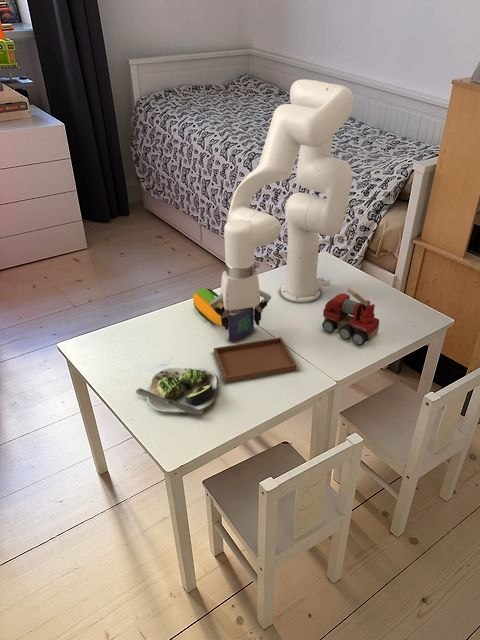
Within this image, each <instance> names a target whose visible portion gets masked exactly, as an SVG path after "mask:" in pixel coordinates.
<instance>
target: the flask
mask: <svg viewBox="0 0 480 640" xmlns="http://www.w3.org/2000/svg"><path fill="white" fill-rule="evenodd" d="M254 309H255V307H251V308H244V309H237V310H230V311H229V313H228V315H227V316H228V330H227V331H228V342H229V343H232V344H233V343H237V342H239V341H242V340H243V339H246V338H247V337H248V336H250V335H251V334H253V332H254V331H255V321H254Z"/></svg>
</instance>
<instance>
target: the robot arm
mask: <svg viewBox="0 0 480 640" xmlns="http://www.w3.org/2000/svg"><path fill="white" fill-rule="evenodd" d="M289 100H290V101H289V102H290V103H284V104H280V105H279V106H277V107H276V108H275V110H274V112H273V114H272V117H271V121H270V124H269V127H268V131H267V133H266V134H267V135H266V137H265V142H264V145H263V149H262V152H261V155H260V159H259V162H258V164H257V166H256V167H255V168H254V169H253V170H252V171H250V172H249V173H248V174H247V175H246V176H245V177H244V178H243V180H241V182H240V183H239V184H238V186H237V187H236V189H235V191H234V192H233V195H232V198H231V202H230V206H229V209H228V214H227V222H226V223H225V224H224V227H223V229H224V230H223V234H224V235H223V236H224V260H225V270H224V271H222V275H221V280H220V294H218V295H219V296H218V297H216V298H215V299H214V300H212V301H211V302H210V306H211V307H212V308H213V310H214V311H215V312H216V313H217V314H219V315H220V316H221V324H222V326H221V327H223V326H224V327H223V328H224V329H225V331H229V330H228V317H227V314H228V313H229V311H231V310H237V309H244V308H251V307H254V324H255V325H256V326H260V322H261V321H262V313H263V310H264V309H265V308H266V307H267V306H268V303H269V302H270V300H272V296H271V294H270V293H268V292H265V291H264V290H262V289H260V281H259V275H258V272H257V270H256V269H258V268H261V263H260V261H256V259H255V258H256V257H255V256H256V254H255V253H256V248H261V247H264V246H268V245H271V244H273V243H274V242H276V241H277V239H278V238H279V237H280V235H281V231H282V225H281V222H280V220H279V219H278V218H277V217H275V216H274V215H272V214H268V213H265V212H262V211H260V210H257V209H253V208H250V206H251V203H252V200H253V199H254V197H255V195H256V194H257V193H258V192H259V190H261V189H262V188H264V187H266V186H268V185H270V184H274V183H278V182H282V181H286V180H288V179H289V178H291V176H292V174H293V169H294V167H295V163H296V160H297V165H296V174H295V179H296V182H297V184H298V186H300V187H302V188H304V189H306V190H309V191H313V192H318V193H321V194H324V195H326V198H324V197H321V196H318V195H314V194H311V193H307V192H296V193H295V192H294V193H293V194H291V195H290V196H289V197H288V199H287V200H286V202H285V206H284V216H285V221H286V222H285V223H286V228H287V229H286V231H287V246H286V247H287V248H286V276H285V282H284V283H283V284H282V285H281V286H280V294H281V296H283V298H285V299H286V300H288V301H291V302H296V303H308V302H309V303H310V302H312V301H316V300H317V299H318V298H319V297H320V295H321V289H322V288H323V287H330V286H331V283H332V282H331V280H330V279H324V277H323V276H322V277H317V275H318V264H319V249H320V238H319V235H322V236H326V237H334V236H337V234H339V233H340V231H341V229H342V228H343V225H344V222H345V217H346V213H347V209H348V204H349V199H350V194H351V189H352V184H353V183H352V182H353V170H352V167H351V164H350V163H348V161H346V160H345V159H344V160H343V159H340V158H336V157H333V156H332V147H333V146H332V145H333V140H334V135H335V134H336V133H337V132H338V131H339V130H340V129H341V127H343V126H344V124H345V123H347V121H348V119H350V116H351V114H352V113H353V109H354V103H355V98H354V95H353V92H352V91H351V89H350V88H349V87H347V86H345V85H342V84H335V83H331V82H324V81H321V80H315V79H307V78H306V79H304V78H303V79H298V80H295V81H293V83H292V84H291V86H290V91H289ZM297 156H298V159H297ZM261 298H263V299H262V300H261ZM221 302H222V303H223V306H222V307H221V308H219V307H218V306H217V305H218V304H219V303H221Z"/></svg>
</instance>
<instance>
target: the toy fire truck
mask: <svg viewBox="0 0 480 640" xmlns="http://www.w3.org/2000/svg"><path fill="white" fill-rule="evenodd" d="M346 291H347V292H348V294H347V293H337V294H336V295H335V296H333V297H332V298H331V299H330V300H328V301H327V302H326V303H325V306H324V309H323V311H322V317H324V319H323V322H322V325H321V326H322V329H323V330H324V331H325V333H328V334H332V333H334V332H335V331H336V330H337V331H338V334H339V335H338V336H339V337H340V338H341V339H342V340H345V341H348V340H352V343H353V344H355V345H356V346H359V347H361V346H364V345H365V344H366V343H368V342H371V341H372V340H373V339H374V338H375V337H376V336H377V335H378V332H379V326H380V319H379V318H378V317H375V303H371V301H370V300H366V299H365V298H363V297H362V296H361V295H360V294H359V293H358V292H356V291H355V290H354V289H353V288H351V287H348V288H347V289H346ZM350 295H351V296H352V297H354V298H355V299H356V300H355V301H354V300H352V299H351V296H350Z"/></svg>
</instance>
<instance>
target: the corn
mask: <svg viewBox="0 0 480 640" xmlns="http://www.w3.org/2000/svg"><path fill="white" fill-rule="evenodd" d="M194 292H195V293H194V294H193V296H192V301H193V306H194V309H195V310H196V311H197V312H198V314H199V315H200V316H201V317H203V319H205V320H206V321H208V323H209V324H211V325H215V324H216V325H217V326H219V327H223V328H225V327H224V326H222V324H221V316H220V315H219V314H217V313H216V312H215V311H214V310H213V308H212V307H211V306H210V302H211V301H212V300H214V299H215V298H217V297H218V296H219V295H220V294H218V293H217V292H215V291H214V290H212V289H210V288H200V289H197V290H195V291H194ZM217 306H218V307H219V308H221V307H222V304H221V302H220V303H219V304H218V305H217ZM227 315H228V314H227ZM227 317H228V316H227Z"/></svg>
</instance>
